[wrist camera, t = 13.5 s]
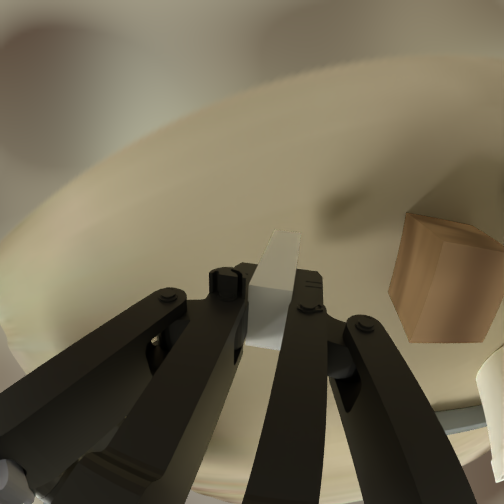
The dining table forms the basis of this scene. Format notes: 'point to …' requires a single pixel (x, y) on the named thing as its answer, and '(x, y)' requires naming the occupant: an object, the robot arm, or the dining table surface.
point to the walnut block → (446, 281)
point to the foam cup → (494, 407)
